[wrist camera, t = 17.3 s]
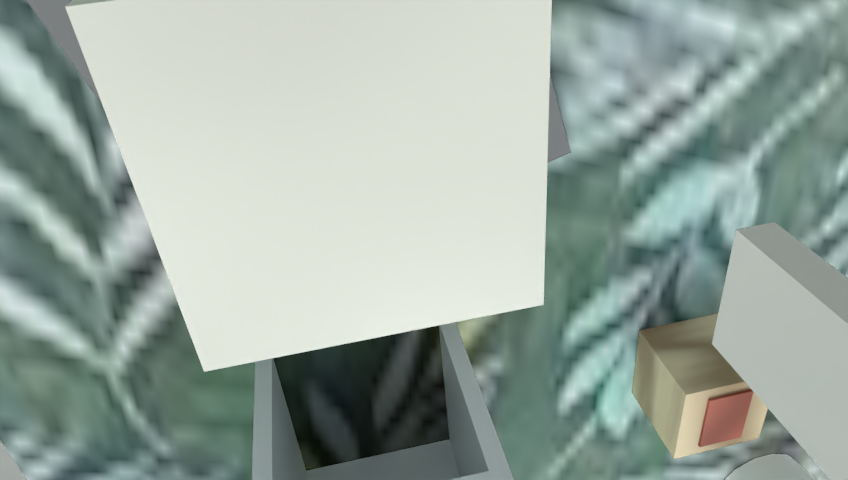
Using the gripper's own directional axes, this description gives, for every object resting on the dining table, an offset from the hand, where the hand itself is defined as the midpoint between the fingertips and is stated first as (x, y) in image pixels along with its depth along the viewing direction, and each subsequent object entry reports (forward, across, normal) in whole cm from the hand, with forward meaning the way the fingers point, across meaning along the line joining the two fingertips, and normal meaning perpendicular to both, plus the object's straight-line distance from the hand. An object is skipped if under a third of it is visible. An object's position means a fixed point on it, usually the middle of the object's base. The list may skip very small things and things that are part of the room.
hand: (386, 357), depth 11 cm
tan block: (+16, +17, -20) cm, 31 cm away
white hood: (+16, 0, 0) cm, 16 cm away
